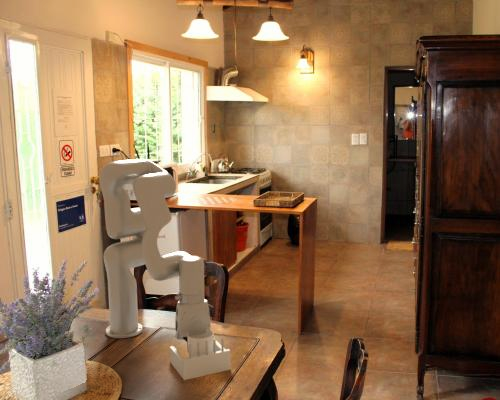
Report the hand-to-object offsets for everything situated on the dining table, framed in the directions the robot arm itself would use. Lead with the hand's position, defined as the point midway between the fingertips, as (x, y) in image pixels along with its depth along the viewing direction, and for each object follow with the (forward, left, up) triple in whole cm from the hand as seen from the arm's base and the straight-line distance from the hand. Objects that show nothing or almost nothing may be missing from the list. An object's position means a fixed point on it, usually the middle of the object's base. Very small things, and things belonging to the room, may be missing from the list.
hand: (193, 354), depth 167 cm
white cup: (+5, +1, -2) cm, 6 cm away
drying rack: (+5, 0, -2) cm, 5 cm away
